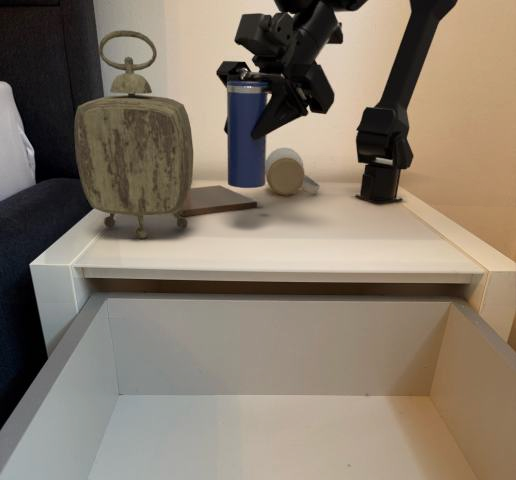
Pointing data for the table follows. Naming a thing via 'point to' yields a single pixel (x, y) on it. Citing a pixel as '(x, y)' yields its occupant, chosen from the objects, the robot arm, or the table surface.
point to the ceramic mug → (288, 173)
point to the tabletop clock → (134, 147)
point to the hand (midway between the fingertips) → (239, 135)
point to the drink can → (245, 133)
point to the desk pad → (214, 201)
